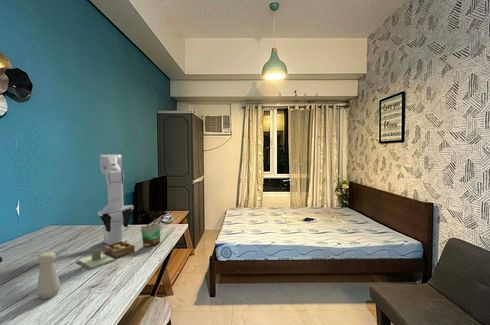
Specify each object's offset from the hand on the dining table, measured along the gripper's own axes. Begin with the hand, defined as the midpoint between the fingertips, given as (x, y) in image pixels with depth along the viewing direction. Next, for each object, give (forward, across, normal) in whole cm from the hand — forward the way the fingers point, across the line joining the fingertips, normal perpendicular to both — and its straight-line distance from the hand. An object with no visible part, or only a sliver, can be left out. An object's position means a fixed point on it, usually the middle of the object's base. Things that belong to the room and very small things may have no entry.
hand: (117, 229), depth 112 cm
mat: (+10, -10, -2) cm, 14 cm away
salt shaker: (+10, -30, -16) cm, 36 cm away
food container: (+10, +15, -5) cm, 19 cm away
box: (+10, 0, -1) cm, 10 cm away
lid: (+10, -10, -2) cm, 14 cm away
